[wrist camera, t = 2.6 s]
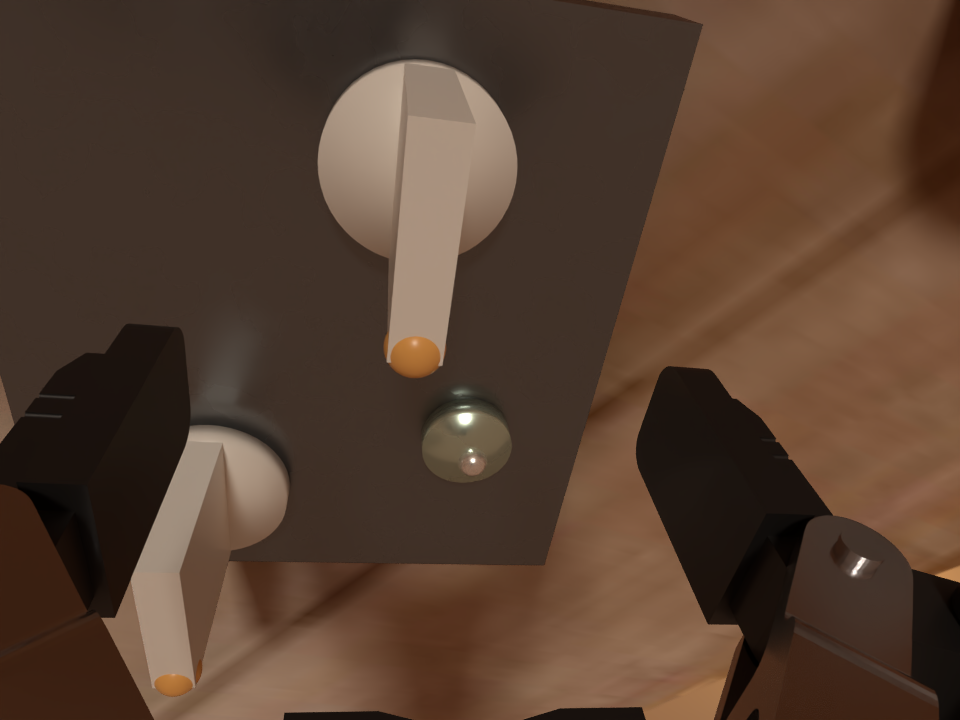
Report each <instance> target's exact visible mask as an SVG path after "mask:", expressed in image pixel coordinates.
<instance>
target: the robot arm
mask: <svg viewBox="0 0 960 720" xmlns="http://www.w3.org/2000/svg"><path fill="white" fill-rule="evenodd" d="M190 418H191V407H190V396H189V385H188V374H187V364H186V353H185V342H184V336H183V333H182V330H181V329H180V328H179V327H169V326H156V325H143V324H130V323H129V324H126V325H125V326H124V327H123V328H122V329H121V331H120V332H119V334H118V335H117V337H116V338H115V340H114V341H113V343H112V344H111V345H110V347H109V348H108V350H107V351H106V353H105V354H100V353H85V354H83V355H82V356H80V357H78V358H77V359H75V360H73V361H72V362H70V363H69V364H67V365H65V366H64V367H62V368H60V369H59V370H57V371H56V372H55V373H54V375H53V376H52V377H51V379H50V380H49V381H48V383H47V384H46V385H45V386H44V388H43V389H42V390H41V392H40V393H39V398H35V399H34V401H33V402H32V403H31V405H30V406H29V407H28V408H27V410H26V411H25V416H24V417H20V419H19V420H18V421H17V423H16V424H15V425H14V426H13V428H12V429H11V430H10V432H9V433H8V434H7V436H6V437H5V438H4V439H3V441H2V442H1V443H0V720H154V719H153V717H152V715H151V713H150V711H149V709H148V707H147V705H146V703H145V701H144V699H143V697H142V695H141V693H140V691H139V690H138V688H137V686H136V684H135V682H134V680H133V678H132V676H131V674H130V672H129V670H128V668H127V666H126V664H125V662H124V660H123V659H122V657H121V655H120V653H119V651H118V649H117V647H116V645H115V643H114V641H113V639H112V637H111V635H110V633H109V631H108V629H107V628H106V626H105V624H104V622H103V620H102V619H101V618H115V616H116V614H117V612H118V609H119V607H120V604H121V602H122V599H123V597H124V595H125V592H126V590H127V587H128V585H129V582H130V580H131V578H132V575H133V573H134V570H135V568H136V565H137V563H138V560H139V558H140V556H141V553H142V551H143V548H144V546H145V543H146V541H147V539H148V536H149V534H150V531H151V529H152V526H153V524H154V522H155V519H156V517H157V514H158V512H159V509H160V507H161V505H162V502H163V500H164V497H165V495H166V492H167V490H168V487H169V485H170V483H171V480H172V478H173V475H174V473H175V470H176V468H177V466H178V463H179V461H180V458H181V456H182V453H183V451H184V449H185V446H186V443H187V439H188V435H189V429H190ZM775 440H776V438H775V436H774V435H773V434H772V432H771V431H770V430H769V428H768V427H767V426H766V424H765V423H764V422H763V420H762V419H761V418H760V417H759V416H758V415H756V414H755V413H754V412H753V411H751V410H750V409H749V408H747V407H746V406H745V405H744V404H742V403H741V402H740V401H738V400H737V399H732V398H731V396H730V395H729V393H728V392H727V391H726V389H725V388H724V386H723V385H722V383H721V382H720V381H719V379H718V378H717V376H716V375H715V374H714V373H713V372H712V371H711V370H709V369H699V368H686V367H673V366H668V367H666V368H665V369H663V371H662V372H661V374H660V375H659V378H658V380H657V383H656V386H655V389H654V392H653V395H652V397H651V400H650V403H649V406H648V409H647V412H646V414H645V417H644V420H643V423H642V426H641V428H640V431H639V434H638V438H637V444H636V458H637V464H638V468H639V471H640V473H641V475H642V478H643V480H644V482H645V484H646V487H647V489H648V491H649V493H650V496H651V498H652V500H653V502H654V505H655V507H656V509H657V511H658V514H659V516H660V518H661V520H662V522H663V525H664V527H665V529H666V531H667V534H668V536H669V538H670V540H671V543H672V545H673V547H674V549H675V552H676V554H677V556H678V558H679V561H680V563H681V565H682V567H683V570H684V572H685V574H686V576H687V578H688V581H689V583H690V585H691V587H692V590H693V592H694V594H695V596H696V599H697V601H698V603H699V605H700V608H701V610H702V612H703V614H704V617H705V619H706V621H707V623H708V624H725V625H739V627H740V629H741V631H742V633H743V636H742V638H741V640H740V641H739V643H738V645H737V647H736V649H735V652H734V655H733V659H732V662H731V665H730V668H729V672H728V675H727V678H726V682H725V685H724V688H723V691H722V695H721V698H720V701H719V705H718V708H717V711H716V714H715V718H714V720H960V583H959V582H956V581H952V580H949V579H945V578H941V577H938V576H934V575H931V574H927V573H924V572H920V571H917V570H913V569H911V567H910V565H909V563H908V561H907V560H906V558H905V557H904V556H903V554H902V553H901V552H900V551H899V550H898V549H897V548H896V547H895V546H894V545H893V544H892V543H891V542H890V541H889V540H887V539H886V538H885V537H883V536H882V535H881V534H879V533H878V532H876V531H874V530H873V529H871V528H869V527H867V526H865V525H863V524H861V523H859V522H856V521H854V520H851V519H847V518H844V517H839V516H833V514H832V513H831V512H830V510H829V509H828V508H827V506H826V505H825V504H824V502H823V501H822V500H821V498H820V497H819V496H818V494H817V493H816V492H815V490H814V489H813V488H812V486H811V485H810V484H809V482H808V481H807V480H806V478H805V477H804V475H803V474H802V473H801V471H800V470H799V469H798V467H797V466H796V465H795V463H794V462H793V461H792V460H789V459H788V454H787V453H786V451H785V450H784V449H783V447H782V446H781V445H780V443H779V442H776V441H775ZM284 720H412V719H407V718H403V717H399V716H395V715H391V714H387V713H383V712H379V711H369V712H304V713H284ZM524 720H646V719H645V716H644V713H643V710H642V707H629V708H564V709H557V710H554V711H550V712H547V713H544V714H540V715H537V716H534V717H531V718H527V719H524Z"/></svg>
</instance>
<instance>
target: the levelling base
mask: <svg viewBox="0 0 960 720" xmlns="http://www.w3.org/2000/svg"><path fill="white" fill-rule="evenodd" d="M702 26H703V24H700V23H697V22H694V21H691V20H688V19H685V18H682V17H679V16H676V15H673V14H666V13H660V12H654V11H648V10H642V9H636V8H630V7H623V6H617V5H611V4H605V3H599V2H593V1H587V0H0V375H1V379H2V382H3V386H4V389H5V393H6V396H7V400H8V403H9V406H10V410H11V413H12V417H13V420H14V424H16V423H17V421H18V420H19V419H20V417H24V416H25V411H26V410H27V408H28V407H29V406H30V405H31V403H32V402H33V401H34V399H35V398H39V393H40V392H41V390H42V389H43V388H44V386H45V385H46V384H47V383H48V381H49V380H50V379H51V377H52V376H53V375H54V373H55V372H56V371H57V370H59V369H60V368H62V367H64V366H65V365H67V364H69V363H70V362H72V361H73V360H75V359H77V358H78V357H80V356H82V355H83V354H85V353H100V354H105V353H106V351H107V350H108V348H109V347H110V345H111V344H112V343H113V341H114V340H115V338H116V337H117V335H118V334H119V332H120V331H121V329H122V328H123V327H124V326H125V325H126V324H129V323H130V324H143V325H156V326H169V327H179V328H180V329H181V330H182V333H183V336H184V342H185V353H186V364H187V374H188V385H189V396H190V407H191V418H190V426H193V425H215V426H223V427H228V428H232V429H236V430H239V431H242V432H244V433H247V434H249V435H251V436H253V437H255V438H257V439H259V440H260V441H262V442H263V443H265V444H266V445H268V446H269V447H270V448H271V449H272V450H273V451H274V452H275V453H276V454H277V455H278V456H279V457H280V459H281V460H282V462H283V463H284V465H285V467H286V469H287V472H288V475H289V481H290V489H289V496H288V501H287V507H286V511H285V515H284V517H283V519H282V521H281V523H280V524H279V526H278V527H277V528H276V529H275V530H274V531H273V532H272V533H271V534H270V535H269V536H267V537H266V538H265V539H263V540H261V541H259V542H258V543H255V544H253V545H251V546H248V547H244V548H241V549H236V550H231V554H230V557H229V561H269V562H342V563H414V564H487V565H544V564H545V560H546V557H547V554H548V550H549V547H550V543H551V540H552V537H553V533H554V530H555V526H556V523H557V520H558V516H559V513H560V509H561V506H562V503H563V499H564V496H565V492H566V489H567V486H568V482H569V479H570V475H571V472H572V469H573V465H574V462H575V458H576V455H577V452H578V448H579V445H580V441H581V438H582V434H583V431H584V428H585V424H586V421H587V417H588V414H589V411H590V407H591V404H592V400H593V397H594V394H595V390H596V387H597V383H598V380H599V377H600V373H601V370H602V366H603V363H604V360H605V356H606V353H607V349H608V346H609V343H610V339H611V336H612V332H613V329H614V326H615V322H616V319H617V315H618V312H619V309H620V305H621V302H622V298H623V295H624V291H625V288H626V285H627V281H628V278H629V274H630V271H631V268H632V264H633V261H634V257H635V254H636V251H637V247H638V244H639V240H640V237H641V234H642V230H643V227H644V223H645V220H646V217H647V213H648V210H649V206H650V203H651V200H652V196H653V193H654V189H655V186H656V183H657V179H658V176H659V172H660V169H661V166H662V162H663V159H664V155H665V152H666V149H667V145H668V142H669V138H670V135H671V131H672V128H673V125H674V121H675V118H676V114H677V111H678V108H679V104H680V101H681V97H682V94H683V91H684V87H685V84H686V80H687V77H688V74H689V70H690V67H691V63H692V60H693V57H694V53H695V50H696V46H697V43H698V40H699V36H700V33H701V29H702ZM409 59H421V60H430V61H435V62H440V63H443V64H446V65H449V66H452V67H454V68H456V69H458V70H460V71H462V72H464V73H466V74H467V75H469V76H470V77H471V78H473V79H474V80H476V81H477V82H478V83H479V84H480V85H481V86H482V87H483V88H484V89H485V90H486V91H487V92H488V93H489V94H490V95H491V97H492V98H493V99H494V100H495V102H496V103H497V105H498V107H499V108H500V110H501V112H502V113H503V115H504V117H505V119H506V121H507V123H508V125H509V128H510V130H511V132H512V136H513V139H514V143H515V147H516V154H517V178H516V185H515V189H514V193H513V196H512V199H511V202H510V204H509V207H508V209H507V210H506V212H505V214H504V216H503V218H502V219H501V221H500V222H499V223H498V225H497V226H496V227H495V229H494V230H493V231H492V232H491V233H490V234H489V235H488V236H487V237H486V238H485V239H483V240H482V241H481V242H480V243H479V244H477V245H476V246H474V247H473V248H471V249H470V250H468V251H466V252H464V253H462V254H460V255H458V258H457V265H456V272H455V280H454V287H453V294H452V301H451V308H450V315H449V323H448V330H447V337H446V354H445V357H444V360H443V365H442V366H439V368H438V369H437V370H436V371H434V372H433V373H432V374H430V375H428V376H425V377H422V378H408V377H405V376H402V375H400V374H398V373H397V372H395V371H394V370H393V369H392V368H391V367H390V365H389V364H388V363H387V360H386V358H385V355H384V339H385V336H386V334H387V324H388V272H389V258H386V257H384V256H381V255H379V254H376V253H374V252H372V251H371V250H369V249H367V248H365V247H364V246H362V245H361V244H360V243H358V242H357V241H355V240H354V239H353V238H352V237H351V236H350V235H349V234H348V233H347V232H346V231H345V230H344V229H343V228H342V227H341V226H340V224H339V223H338V222H337V221H336V219H335V217H334V216H333V214H332V213H331V211H330V209H329V207H328V205H327V203H326V201H325V199H324V195H323V192H322V189H321V186H320V180H319V175H318V151H319V144H320V140H321V135H322V132H323V129H324V126H325V124H326V121H327V118H328V116H329V113H330V111H331V110H332V108H333V106H334V104H335V102H336V101H337V100H338V98H339V97H340V96H341V94H342V93H343V92H344V91H345V89H346V88H347V87H348V86H349V85H350V84H351V83H352V82H354V81H355V80H356V79H358V78H359V77H360V76H362V75H363V74H365V73H366V72H368V71H370V70H372V69H374V68H376V67H378V66H381V65H384V64H386V63H390V62H395V61H399V60H409Z"/></svg>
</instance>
